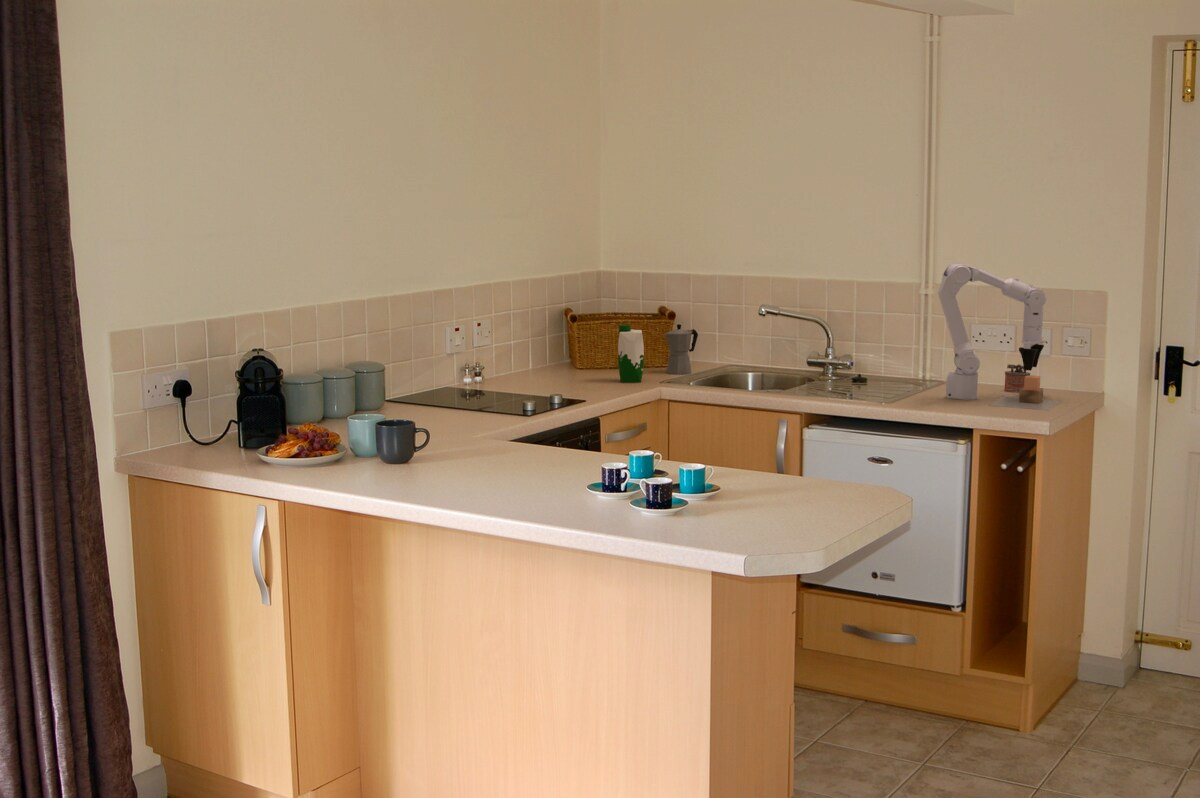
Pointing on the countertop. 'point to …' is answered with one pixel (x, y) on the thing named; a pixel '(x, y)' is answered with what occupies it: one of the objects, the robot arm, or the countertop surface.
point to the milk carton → (630, 354)
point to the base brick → (1031, 396)
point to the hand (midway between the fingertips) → (1030, 368)
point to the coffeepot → (680, 350)
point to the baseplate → (1024, 404)
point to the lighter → (1015, 378)
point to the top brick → (1032, 382)
